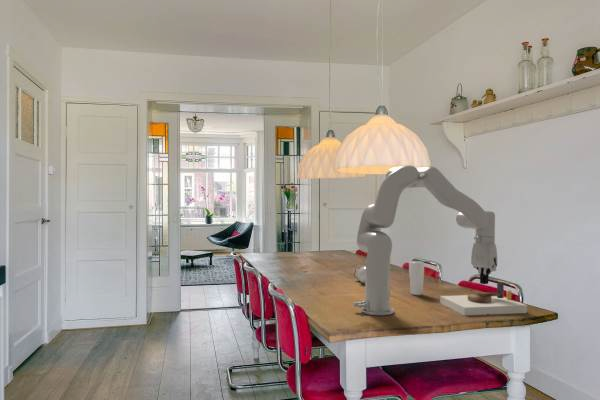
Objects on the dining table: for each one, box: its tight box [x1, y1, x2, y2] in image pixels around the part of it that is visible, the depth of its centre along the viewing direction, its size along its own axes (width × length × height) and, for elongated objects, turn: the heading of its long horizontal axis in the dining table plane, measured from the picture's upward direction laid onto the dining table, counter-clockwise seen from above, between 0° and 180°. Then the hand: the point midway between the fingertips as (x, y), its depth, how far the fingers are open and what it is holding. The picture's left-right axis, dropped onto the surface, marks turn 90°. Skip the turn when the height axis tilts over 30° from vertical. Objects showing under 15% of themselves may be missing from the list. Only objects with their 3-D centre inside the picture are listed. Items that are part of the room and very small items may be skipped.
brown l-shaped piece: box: [467, 281, 505, 302], centre depth 182 cm, size 15×9×7 cm, turn 97°
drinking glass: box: [408, 260, 425, 296], centre depth 207 cm, size 7×7×15 cm
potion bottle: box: [353, 265, 365, 285], centre depth 234 cm, size 9×10×15 cm
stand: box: [439, 290, 528, 316], centre depth 182 cm, size 26×20×6 cm
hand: (484, 283), depth 189 cm, fingers closed
